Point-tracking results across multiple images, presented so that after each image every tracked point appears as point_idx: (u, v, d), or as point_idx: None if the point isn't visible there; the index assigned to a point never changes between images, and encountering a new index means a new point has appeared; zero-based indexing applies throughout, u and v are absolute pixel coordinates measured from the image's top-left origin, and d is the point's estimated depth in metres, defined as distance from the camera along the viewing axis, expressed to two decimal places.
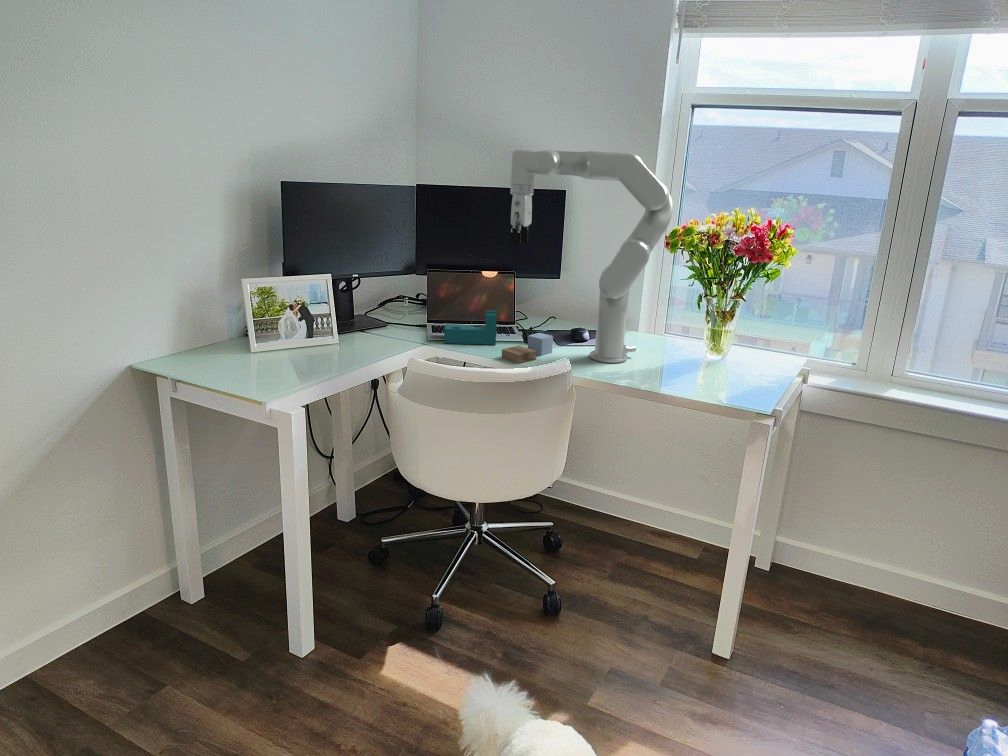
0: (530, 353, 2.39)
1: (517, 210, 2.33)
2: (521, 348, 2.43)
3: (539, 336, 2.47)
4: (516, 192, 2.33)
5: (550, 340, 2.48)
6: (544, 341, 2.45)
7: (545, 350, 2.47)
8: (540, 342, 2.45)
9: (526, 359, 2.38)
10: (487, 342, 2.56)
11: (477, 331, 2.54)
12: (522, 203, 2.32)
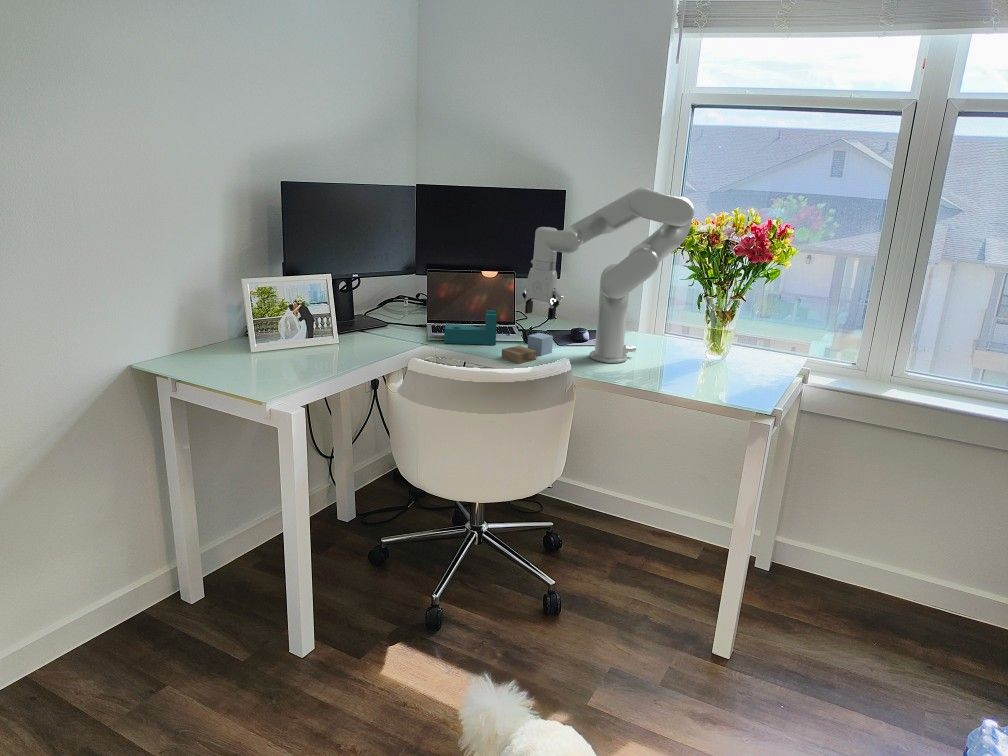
0: (530, 353, 2.39)
1: None
2: (521, 348, 2.43)
3: (539, 336, 2.47)
4: None
5: (550, 340, 2.48)
6: (544, 341, 2.45)
7: (545, 350, 2.47)
8: (540, 342, 2.45)
9: (526, 359, 2.38)
10: (487, 342, 2.56)
11: (477, 331, 2.54)
12: None
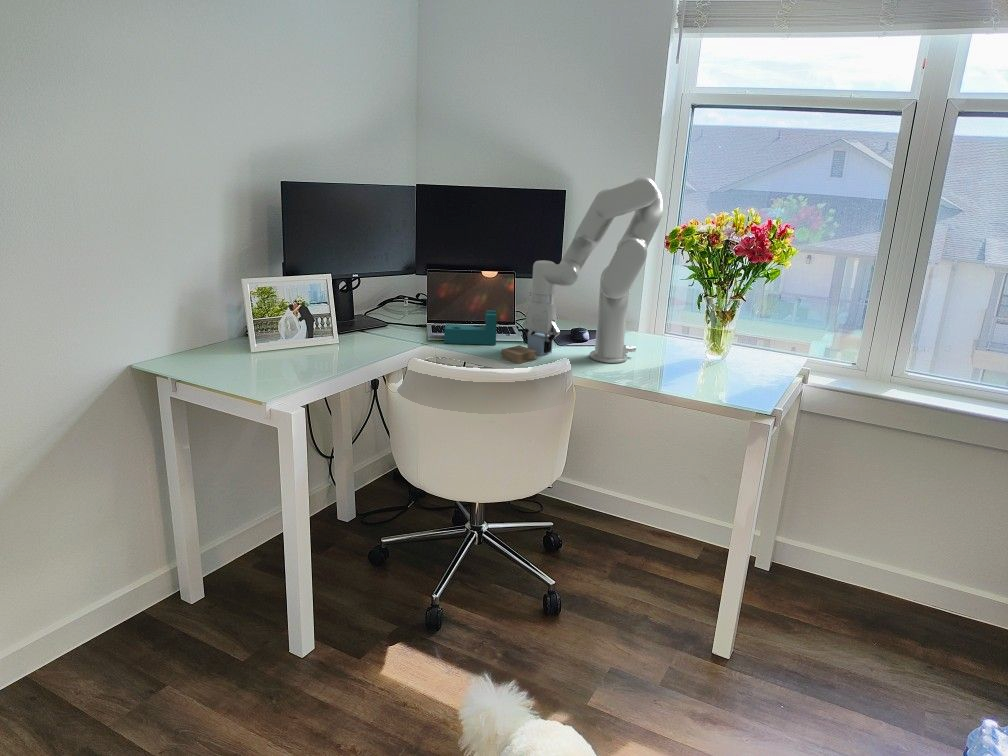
0: (530, 353, 2.39)
1: None
2: (521, 348, 2.43)
3: (539, 336, 2.47)
4: None
5: None
6: (544, 341, 2.45)
7: None
8: (540, 341, 2.45)
9: (526, 359, 2.38)
10: (487, 342, 2.56)
11: (477, 331, 2.54)
12: None
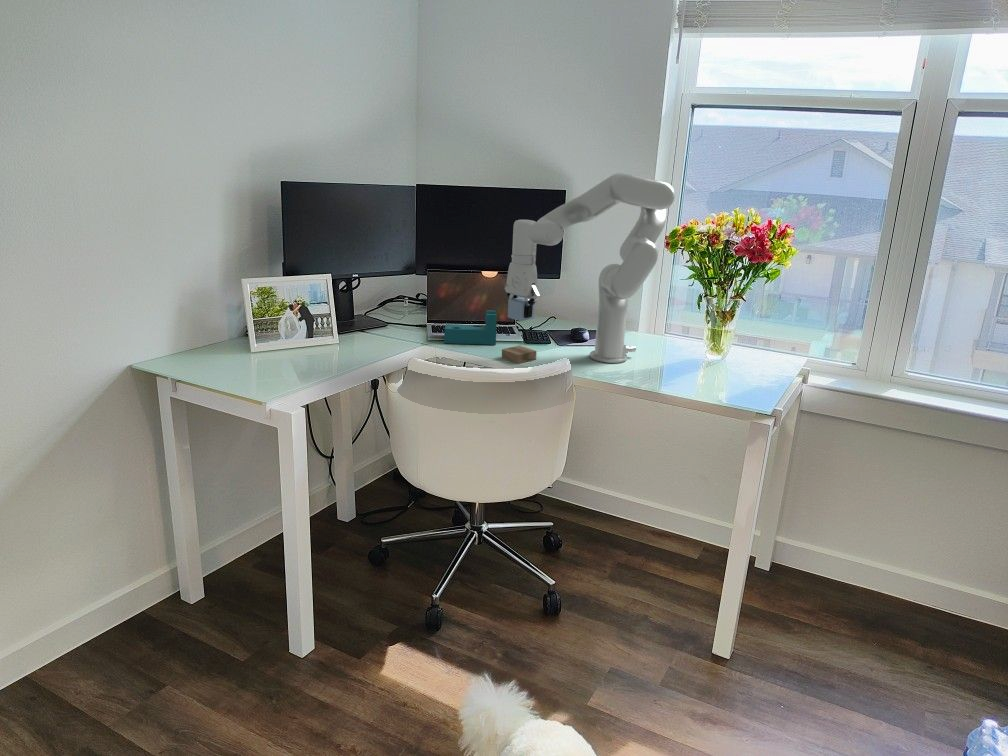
0: (530, 353, 2.39)
1: None
2: (521, 348, 2.43)
3: (520, 300, 2.35)
4: None
5: None
6: (524, 305, 2.33)
7: None
8: (519, 305, 2.32)
9: (526, 359, 2.38)
10: (487, 342, 2.56)
11: (477, 331, 2.54)
12: None
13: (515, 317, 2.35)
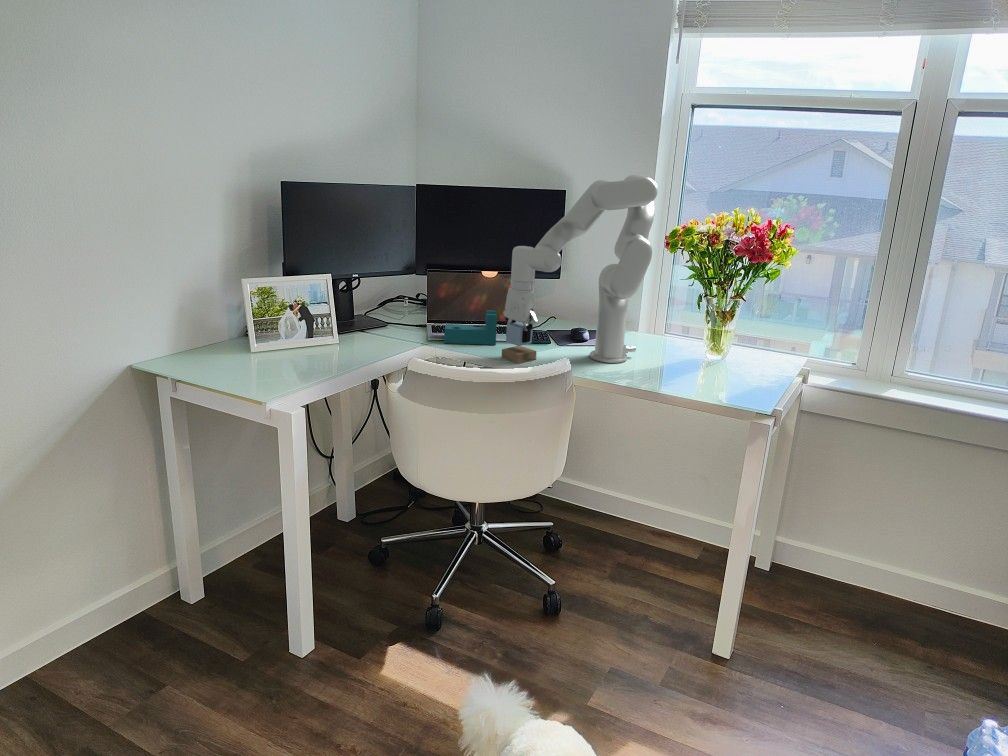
0: (530, 353, 2.39)
1: None
2: (521, 348, 2.43)
3: (518, 325, 2.38)
4: None
5: None
6: (522, 330, 2.35)
7: None
8: (518, 330, 2.35)
9: (526, 359, 2.38)
10: (487, 342, 2.56)
11: (477, 331, 2.54)
12: None
13: (513, 342, 2.37)
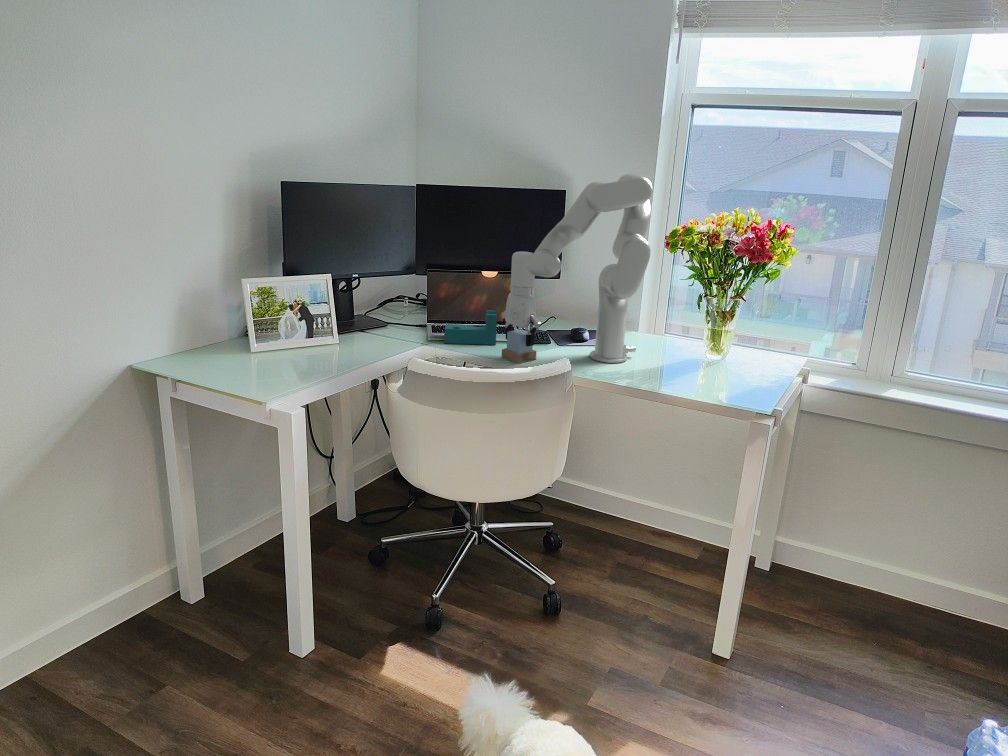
0: (530, 353, 2.39)
1: None
2: None
3: (519, 332, 2.38)
4: None
5: None
6: (522, 338, 2.36)
7: (524, 347, 2.38)
8: (518, 338, 2.36)
9: (526, 359, 2.38)
10: (487, 342, 2.56)
11: (477, 331, 2.54)
12: None
13: (514, 350, 2.38)
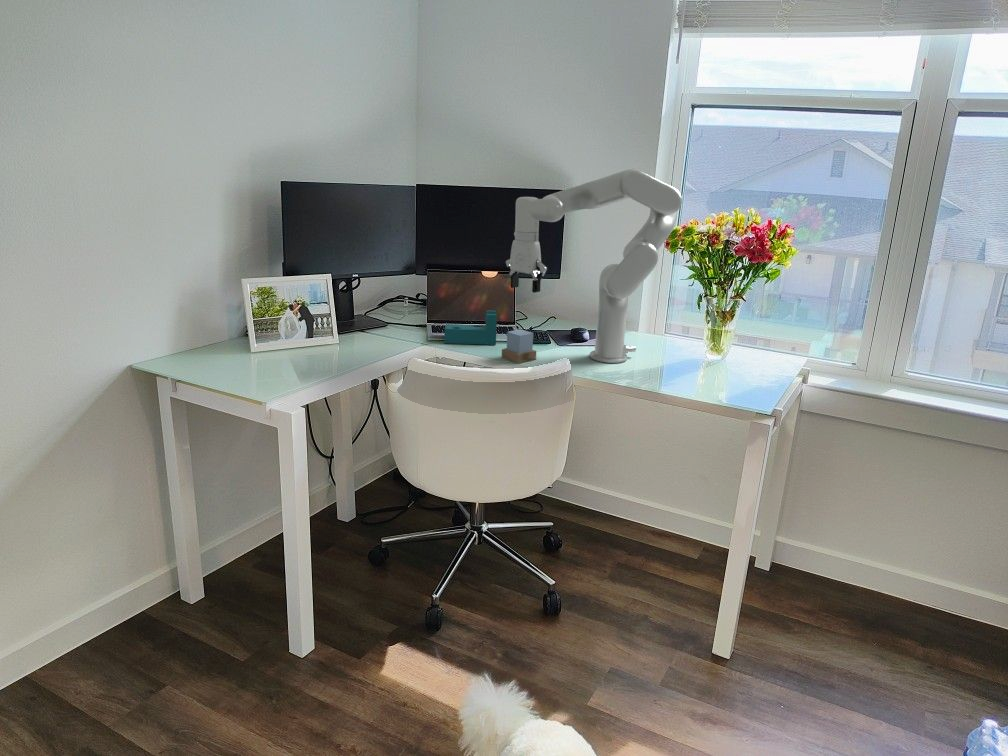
0: (530, 353, 2.39)
1: None
2: None
3: (519, 332, 2.38)
4: None
5: (530, 337, 2.39)
6: (522, 338, 2.36)
7: (524, 347, 2.38)
8: (518, 338, 2.36)
9: (526, 359, 2.38)
10: (487, 342, 2.56)
11: (477, 331, 2.54)
12: None
13: (514, 350, 2.38)
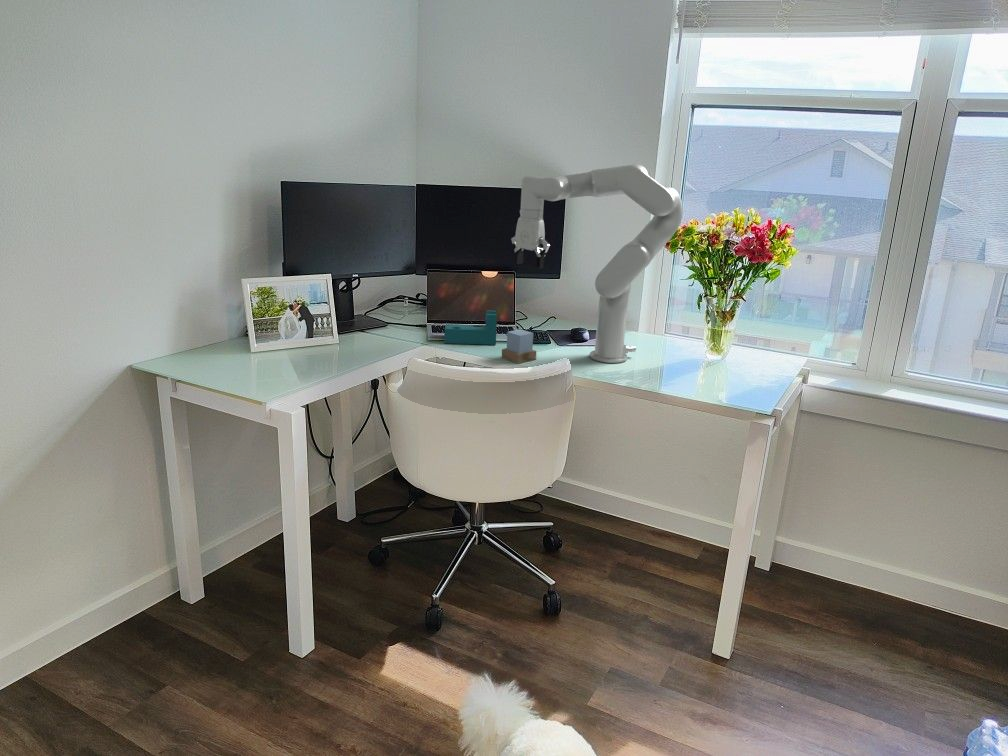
0: (530, 353, 2.39)
1: None
2: None
3: (519, 332, 2.38)
4: None
5: (530, 337, 2.39)
6: (522, 338, 2.36)
7: (524, 347, 2.38)
8: (518, 338, 2.36)
9: (526, 359, 2.38)
10: (487, 342, 2.56)
11: (477, 331, 2.54)
12: None
13: (514, 350, 2.38)
